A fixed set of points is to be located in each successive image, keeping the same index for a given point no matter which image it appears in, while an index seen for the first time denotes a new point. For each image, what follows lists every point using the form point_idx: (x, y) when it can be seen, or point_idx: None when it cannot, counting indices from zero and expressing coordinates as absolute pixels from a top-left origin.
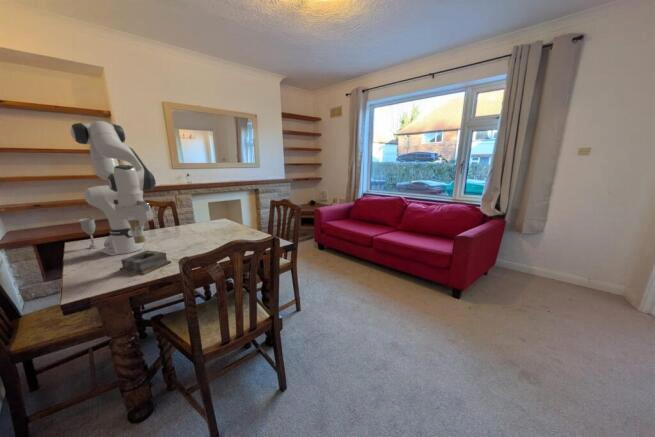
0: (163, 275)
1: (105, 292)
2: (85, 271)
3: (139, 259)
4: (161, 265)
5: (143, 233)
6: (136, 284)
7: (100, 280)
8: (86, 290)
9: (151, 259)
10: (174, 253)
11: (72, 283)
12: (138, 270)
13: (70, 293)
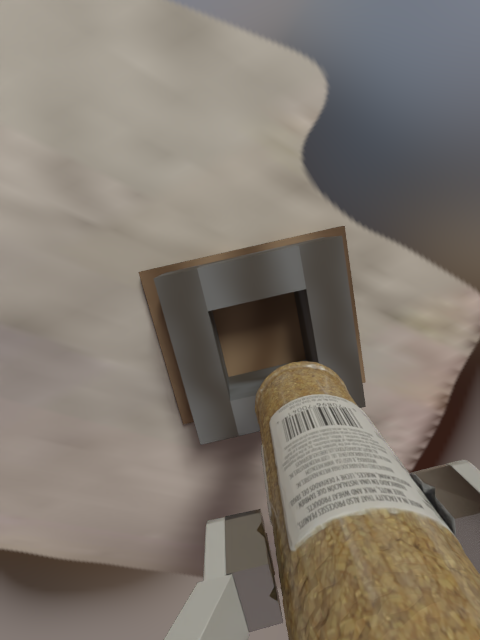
0: (455, 334)
1: None
2: (45, 505)
3: None
4: (351, 289)
5: (368, 420)
6: (424, 433)
7: (235, 496)
8: None
9: (353, 339)
10: (194, 116)
11: (162, 559)
12: None
13: None
